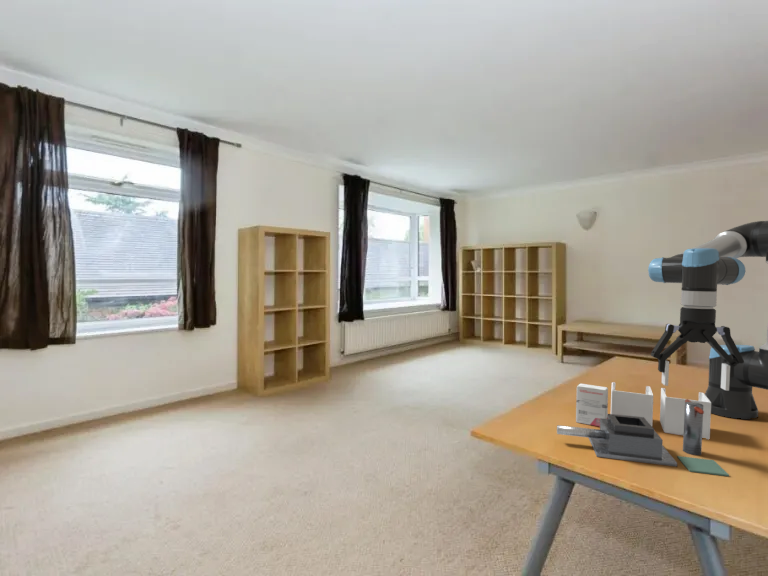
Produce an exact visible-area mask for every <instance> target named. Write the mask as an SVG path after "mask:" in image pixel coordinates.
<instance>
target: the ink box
mask: <svg viewBox="0 0 768 576" xmlns="http://www.w3.org/2000/svg"><path fill="white" fill-rule="evenodd" d="M575 396H576V399H575V400H576V402H575V422H576V423H579V424H585V425H588V426H595V427H599V428H600V418H602V419H607V415H608V414H609V413H608V412H609V410H608V407H609V405H608V404H609V403H608V401H609V388H608V387H606V386H599V385H593V384H586V383H579V384H578V385H577V386H576V395H575Z"/></svg>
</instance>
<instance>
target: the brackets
mask: <svg viewBox="0 0 768 576" xmlns="http://www.w3.org/2000/svg"><path fill="white" fill-rule="evenodd" d="M610 392H611V394H610V414H615V415H626V416H636V417H644V418H645V419H646V420H647V422H648V423H649V424H650V425H651V426H652V427H653V418H654V417H653V415H654V411H653V410H654V394H653V391H652V388H651V386H649V385H645V393H640V392H639V393H638V392H630V391H623V390H616V382H615V381H613V382H611V391H610ZM686 399H687V398H680V397H670V396H667V394H666V388H664V387H661V388H660V405H659V406H660V410H659V412H660V413H659V422H660V425H661V428H662V431H663V433H666V434H670V435H671V434H672V435H678V436H683V434H684V410H685V400H686ZM689 400H690V401H691V402H695V403H699V404H702V405H703V411H704V413H703V427H702V438H706V439H705V440H709V439H710V438H711V415H712V413H711V402H710V400H709V399H708V398H707V397H706V395H705V393H704V392H701V391H698V400H694V399H689Z"/></svg>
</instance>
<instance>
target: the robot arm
mask: <svg viewBox="0 0 768 576" xmlns="http://www.w3.org/2000/svg"><path fill="white" fill-rule="evenodd" d="M748 257H749V258H750V257H752V258H764V257H765V263H766V264H768V220H757V221H752V222H747V223H744V224H741V225H738V226H735V227H732V228H729V229H727V230H724V231H722V232H719V233H718V234H717V235H716V236H715V237H714V239H711V240H709V241H707V242H704V243H701V244H699V245H697V246H694V247H692V248H688V249H685V250H684V251H682V252H680V253H677V254H675V255H674V256H670V257H658V258H653V259H652V260H651V261H650V263H649V264H648V269H647V271H648V276H649V278H650V279H651V280H652V282H655V283H663V284H669V283H670V284H681V295H680V296H681V297H680V305H681V306H682V307H680V310H679V311H680V312H679V313H680V315H679V324H678V325H676V324H671V323H666V324H665V328H664V332H663V333H662V335H661V337H660V338H659V340H658V341H657V343H656V345H655V346H654V348H653V349H652V350H651V352H650V356H651V357H652V358H655V359H656V360H658V361H657V362H658V363H657V370H658V372H659V373H661V384H662V385H663V386H667V387H669V373H670V361H669V360H668V359H669V358H670V357H671V356H672V355H673V354H674V353H675V352H676V351H678V350H679V349H680V347H682V346H683V345H684V344H686V343H688V342H689V343H694V344H695V343H701V344H706V343H707V344H709V346H710V350H709V356H708V361H709V363H708V386H707V389H706V390H705V393H704V394H705V395H706V397H707V398H708V399H709V400H710V402H711V414H714V415H716V416H721V417H724V416H725V418H730V417H731V418H732V419H737V418H741V419H740V420H751V419H750V418H756V417H758V418H759V408H758V406H757V403H756V400H755V398H754V394H753V388H758V389H763V390H767V391H768V324H767V326H766V327H767V329H766V339H765V340H766V341H765V343H764V344H762V345H760V346H759V347H758V348H759V351H756V349H755V347H754V345H750V344H749V345H748V344H736V343H735V341H734V339H733V338H732V336H731V328H730V327H729V326H725V325H721V326H716V320H717V319H716V318H717V316H716V315H717V310H716V308H715V307H716V306H717V296H718V294H717V293H718V285H721V286H722V285H723V286H724V285H726V286H729V285H733V284H736V283H738V282H740V281H741V280H743V278H744V277H745V275H746V266H745V264H744V263H743V262H742V261H741V260H740V259H738V258H748ZM677 331H678V332H679V333H680V334H679V335H678V336H677V337H676V339H675V340H674V341H673V342H671V343H670V345H668V346H667V347H666V345H667V344H668V342H669V341H670V339H671V338H672V337H673V335H674V333H676V332H677ZM717 333H718V335H720V336H721V338H722V340H723V343H724V344H719V342H718V341H717V340H716V339H715V338H714V335H715V334H717ZM665 347H666V348H665ZM731 418H730V419H731ZM756 419H757V418H756Z"/></svg>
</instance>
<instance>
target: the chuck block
mask: <svg viewBox="0 0 768 576" xmlns="http://www.w3.org/2000/svg"><path fill="white" fill-rule="evenodd" d="M556 434H557V435H562V436H563V435H564V436H570V437H571V436H572V437H578V438H579V437H581V438H588V440H589V442H590V445H591V446H592V449H593V451H594V453H595V456H596V457H597V458H605V459H612V460H620V461H621V460H622V461H628V462H637V463H643V464H644V463H646V464H650V465H651V464H652V465H653V464H654V465H660V466H661V465H662V466H670V467H678V462H677V461H676V459H675V458H674V457H673V456H672V454H670V452H669V451H668V450H667V449H666V448H665V447H664V444H663V443H664V442H663V438H662V437H661V436H660V435H659V434H658V433H657V431H656V430H655V428H654V427H653V425H652V426H651V425H650V424H649V423H648V422H647V420H646V419H645V418H644V417H636V416H626V415H615V414H611V413H608V415H607V419H602V418H600V427H599V429H596V428H589V427H588V428H587V427H580V426H579V427H578V426H569V425H568V426H567V425H562V424H561V425H559V424H558V425H557V426H556Z"/></svg>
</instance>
